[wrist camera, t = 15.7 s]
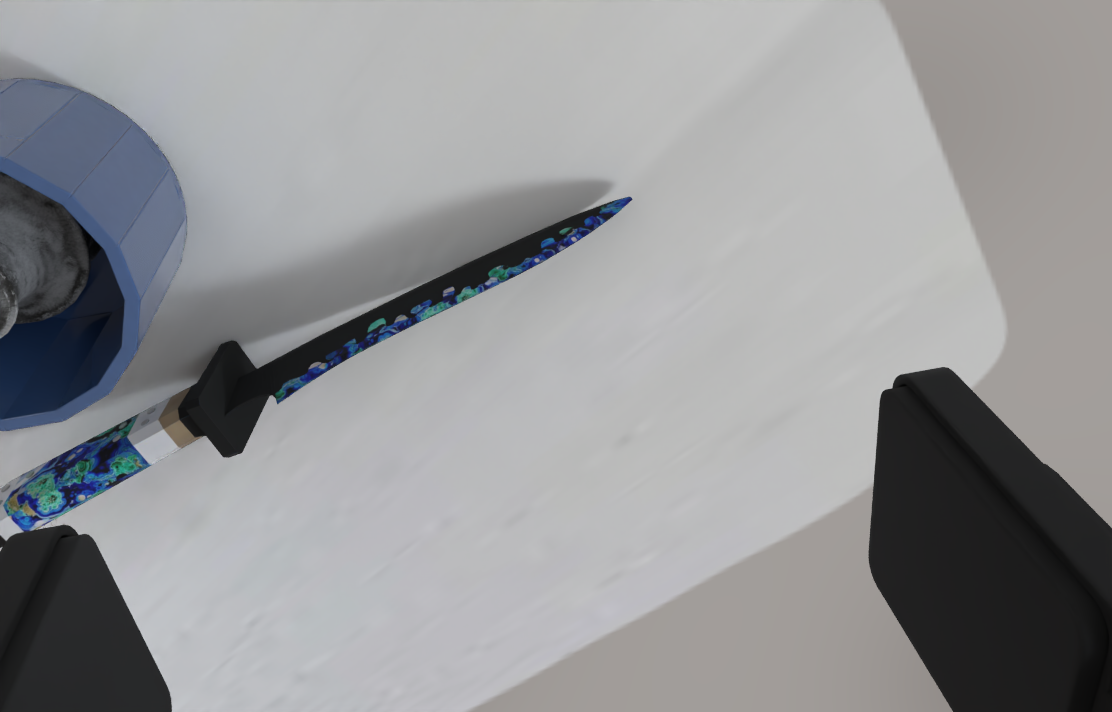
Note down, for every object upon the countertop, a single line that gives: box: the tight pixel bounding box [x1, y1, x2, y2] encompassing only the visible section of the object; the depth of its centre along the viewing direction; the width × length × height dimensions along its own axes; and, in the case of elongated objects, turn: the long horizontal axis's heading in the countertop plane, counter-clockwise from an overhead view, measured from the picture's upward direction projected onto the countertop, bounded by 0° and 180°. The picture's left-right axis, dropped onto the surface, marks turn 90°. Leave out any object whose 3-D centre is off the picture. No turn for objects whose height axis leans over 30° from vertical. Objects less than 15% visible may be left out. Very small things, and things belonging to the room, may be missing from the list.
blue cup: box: [0, 79, 187, 431], centre depth 33 cm, size 10×10×8 cm
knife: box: [0, 197, 632, 548], centre depth 39 cm, size 30×3×4 cm, turn 110°
